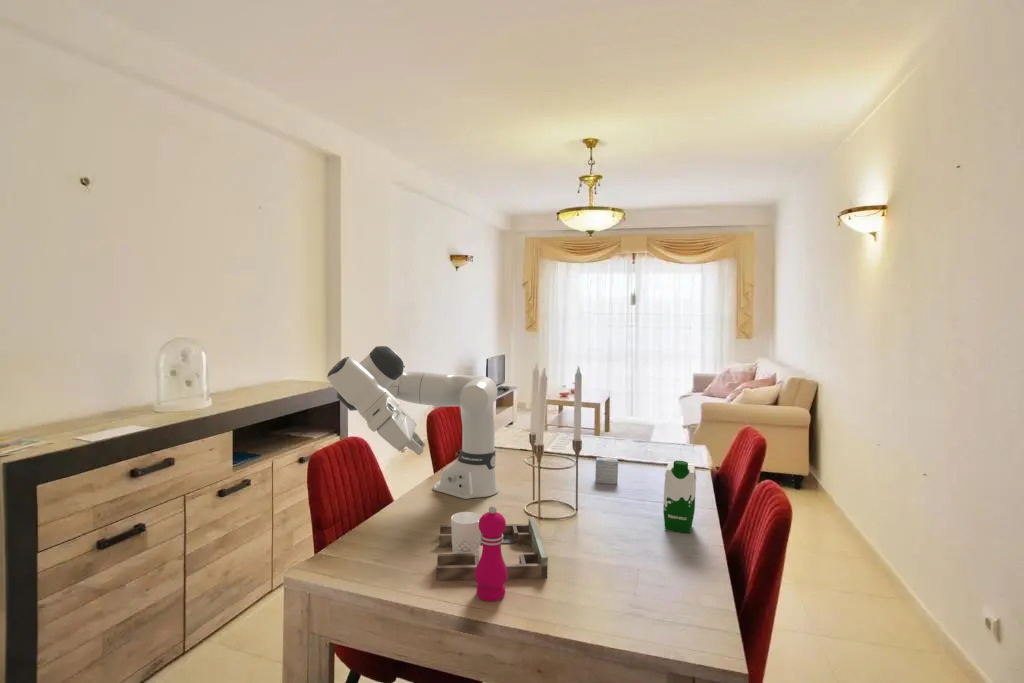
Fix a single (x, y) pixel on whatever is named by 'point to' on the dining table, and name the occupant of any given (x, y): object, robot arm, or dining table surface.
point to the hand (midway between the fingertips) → (422, 449)
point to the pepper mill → (491, 557)
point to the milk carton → (679, 496)
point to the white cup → (465, 533)
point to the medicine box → (606, 470)
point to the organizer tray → (513, 534)
